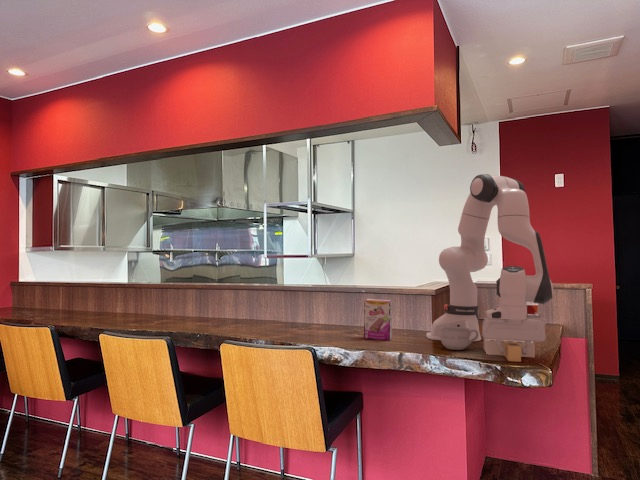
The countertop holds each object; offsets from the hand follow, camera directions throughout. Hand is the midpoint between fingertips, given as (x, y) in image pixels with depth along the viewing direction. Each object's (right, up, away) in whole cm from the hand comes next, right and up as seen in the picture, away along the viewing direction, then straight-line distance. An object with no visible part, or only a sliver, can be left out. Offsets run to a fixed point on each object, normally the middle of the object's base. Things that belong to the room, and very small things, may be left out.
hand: (513, 353), depth 156 cm
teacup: (-14, -2, +15) cm, 21 cm away
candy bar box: (-43, -3, +32) cm, 54 cm away
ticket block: (+2, -2, +9) cm, 9 cm away
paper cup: (+30, -3, +53) cm, 61 cm away
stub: (0, -2, 0) cm, 2 cm away
